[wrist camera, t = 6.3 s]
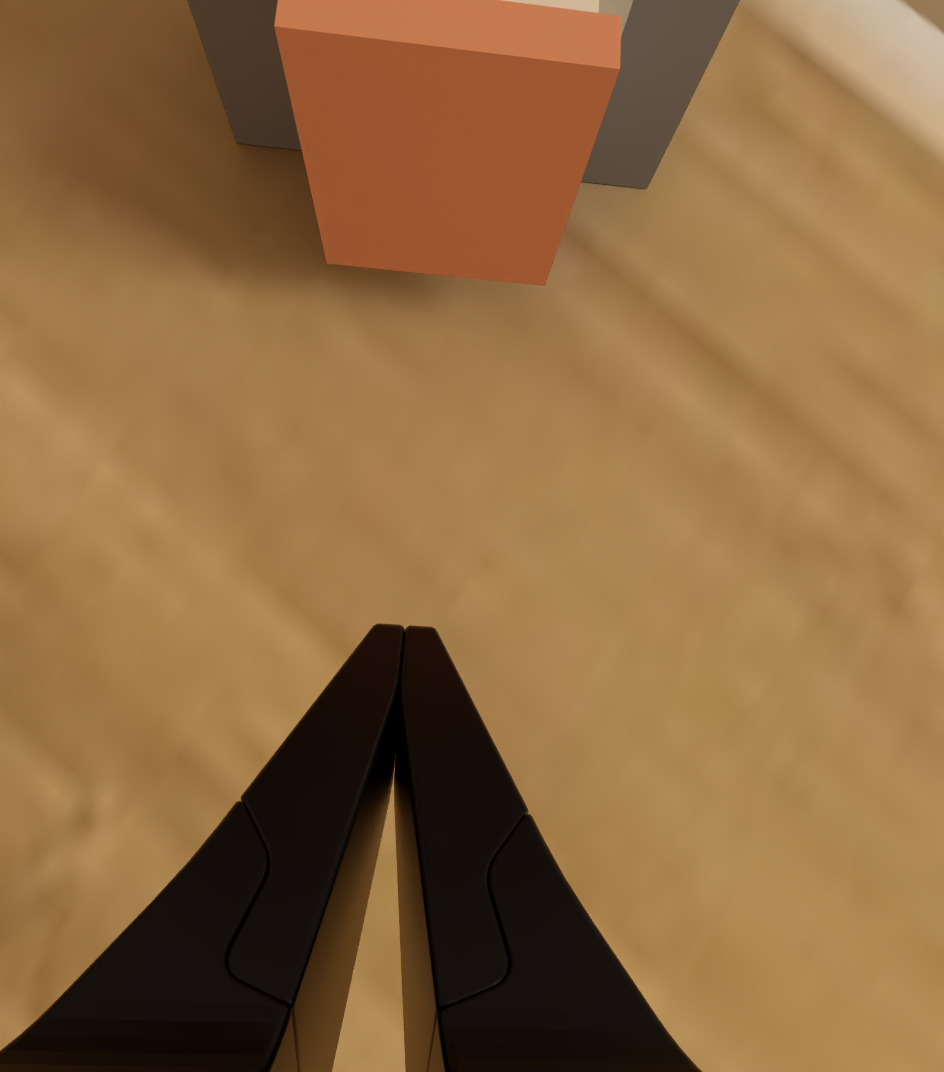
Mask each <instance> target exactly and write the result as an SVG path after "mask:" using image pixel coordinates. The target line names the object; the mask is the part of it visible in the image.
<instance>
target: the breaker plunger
mask: <svg viewBox="0 0 944 1072" xmlns="http://www.w3.org/2000/svg"><path fill="white" fill-rule="evenodd" d="M274 27H275V32H276V36H277V41H278V45H279V50H280V54H281V59H282V63H283V68H284V72H285V77H286V81H287V86H288V90H289V95H290V99H291V104H292V108H293V113H294V117H295V122H296V126H297V131H298V135H299V140H300V145H301V149H302V154H303V158H304V163H305V167H306V172H307V176H308V181H309V185H310V190H311V194H312V199H313V203H314V208H315V212H316V217H317V221H318V226H319V230H320V235H321V239H322V244H323V248H324V253H325V257H326V262H327V264H335V265H345V266H355V267H365V268H375V269H385V270H395V271H405V272H415V273H425V274H435V275H444V276H454V277H464V278H474V279H484V280H494V281H504V282H514V283H524V284H534V285H544V286H545V283H546V281H547V278H548V275H549V272H550V269H551V266H552V263H553V260H554V258H555V255H556V252H557V249H558V246H559V243H560V240H561V237H562V235H563V232H564V229H565V226H566V223H567V220H568V217H569V214H570V212H571V209H572V206H573V203H574V200H575V197H576V194H577V191H578V189H579V186H580V183H581V180H582V177H583V174H584V171H585V168H586V166H587V163H588V160H589V157H590V154H591V151H592V148H593V145H594V143H595V140H596V137H597V134H598V131H599V128H600V125H601V123H602V120H603V117H604V114H605V111H606V108H607V105H608V102H609V100H610V97H611V94H612V91H613V88H614V85H615V82H616V79H617V77H618V74H619V71H620V51H621V16H618V15H610V14H603V13H599V0H278V2H277V10H276V17H275V25H274Z"/></svg>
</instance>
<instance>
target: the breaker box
mask: <svg viewBox="0 0 944 1072" xmlns="http://www.w3.org/2000/svg"><path fill="white" fill-rule="evenodd" d="M187 1H188V4H189V6H190V9H191V12H192V15H193V18H194V21H195V24H196V27H197V30H198V33H199V35H200V38H201V41H202V44H203V47H204V50H205V53H206V56H207V59H208V62H209V64H210V67H211V70H212V73H213V76H214V79H215V82H216V85H217V88H218V91H219V93H220V96H221V99H222V102H223V105H224V108H225V111H226V114H227V117H228V120H229V122H230V125H231V128H232V131H233V134H234V137H235V140H236V143H241V144H250V145H259V146H268V147H277V148H286V149H295V150H302V149H301V145H300V140H299V135H298V131H297V126H296V122H295V117H294V113H293V108H292V104H291V99H290V95H289V90H288V86H287V81H286V77H285V72H284V68H283V63H282V59H281V54H280V50H279V45H278V41H277V36H276V32H275V27H274V25H275V17H276V10H277V2H278V0H187ZM739 1H740V0H599V13H603V14H610V15H618V16H621V51H620V71H619V74H618V77H617V79H616V82H615V85H614V88H613V91H612V94H611V97H610V100H609V102H608V105H607V108H606V111H605V114H604V117H603V120H602V123H601V125H600V128H599V131H598V134H597V137H596V140H595V143H594V145H593V148H592V151H591V154H590V157H589V160H588V163H587V166H586V168H585V171H584V174H583V177H582V180H581V182H590V183H599V184H608V185H617V186H626V187H635V188H644V189H647V188H648V186H649V184H650V182H651V180H652V178H653V175H654V173H655V171H656V169H657V167H658V165H659V163H660V161H661V159H662V157H663V155H664V153H665V151H666V149H667V147H668V145H669V143H670V141H671V139H672V137H673V135H674V133H675V131H676V129H677V127H678V125H679V123H680V121H681V119H682V117H683V115H684V113H685V111H686V109H687V107H688V105H689V103H690V100H691V98H692V96H693V94H694V92H695V90H696V88H697V86H698V84H699V82H700V80H701V78H702V76H703V74H704V72H705V70H706V68H707V66H708V64H709V62H710V60H711V58H712V56H713V54H714V52H715V50H716V48H717V46H718V44H719V42H720V40H721V38H722V36H723V34H724V32H725V30H726V28H727V26H728V23H729V21H730V19H731V17H732V15H733V13H734V11H735V9H736V7H737V5H738V3H739Z"/></svg>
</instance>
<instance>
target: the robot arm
mask: <svg viewBox="0 0 944 1072" xmlns="http://www.w3.org/2000/svg"><path fill="white" fill-rule="evenodd" d="M395 754H396V755H395ZM394 766H395V773H394ZM393 774H394V807H395V831H396V854H397V878H398V901H399V925H400V948H401V972H402V995H403V1018H404V1042H405V1065H406V1072H702V1071H701V1070H700V1069H699V1068H698V1067H697V1066H696V1065H695V1064H694V1063H693V1062H692V1061H691V1060H690V1058H689V1057H688V1056H687V1055H686V1054H685V1053H684V1052H683V1051H682V1049H681V1048H680V1047H679V1046H678V1044H677V1043H676V1042H675V1041H674V1039H673V1038H672V1037H671V1035H670V1034H669V1033H668V1031H667V1030H666V1029H665V1027H664V1026H663V1024H662V1023H661V1022H660V1020H659V1019H658V1017H657V1016H656V1014H655V1013H654V1011H653V1010H652V1008H651V1007H650V1005H649V1004H648V1003H647V1001H646V1000H645V998H644V997H643V995H642V994H641V992H640V991H639V989H638V988H637V986H636V985H635V983H634V982H633V980H632V979H631V977H630V976H629V974H628V973H627V971H626V970H625V968H624V967H623V965H622V964H621V962H620V961H619V959H618V958H617V956H616V955H615V954H614V952H613V951H612V949H611V948H610V946H609V945H608V943H607V942H606V940H605V939H604V937H603V936H602V934H601V933H600V931H599V930H598V928H597V927H596V925H595V924H594V922H593V921H592V919H591V918H590V916H589V915H588V913H587V912H586V910H585V908H584V907H583V905H582V904H581V902H580V901H579V899H578V897H577V896H576V894H575V893H574V891H573V890H572V888H571V886H570V885H569V883H568V882H567V880H566V879H565V877H564V875H563V873H562V872H561V870H560V868H559V866H558V864H557V863H556V861H555V859H554V857H553V855H552V854H551V852H550V850H549V848H548V846H547V845H546V843H545V841H544V839H543V837H542V835H541V833H540V831H539V829H538V827H537V825H536V823H535V821H534V819H533V817H532V816H531V815H530V814H528V808H527V806H526V804H525V802H524V800H523V798H522V797H521V795H520V793H519V791H518V789H517V787H516V785H515V783H514V781H513V779H512V777H511V775H510V773H509V771H508V769H507V767H506V765H505V763H504V761H503V759H502V757H501V755H500V753H499V752H498V750H497V748H496V746H495V744H494V742H493V740H492V738H491V736H490V734H489V732H488V730H487V728H486V726H485V724H484V722H483V720H482V718H481V716H480V714H479V712H478V710H477V708H476V707H475V705H474V703H473V701H472V699H471V697H470V695H469V693H468V691H467V689H466V687H465V685H464V683H463V681H462V679H461V677H460V675H459V673H458V671H457V669H456V667H455V665H454V663H453V662H452V660H451V658H450V656H449V654H448V652H447V650H446V648H445V646H444V644H443V642H442V640H441V638H440V636H439V634H438V632H437V631H436V629H435V628H433V627H425V626H408V627H407V628H406V629H404V627H403V626H402V625H394V624H376V625H374V626H373V627H372V628H371V630H370V631H369V632H368V634H367V635H366V636H365V637H364V639H363V640H362V641H361V643H360V644H359V645H358V646H357V648H356V649H355V650H354V652H353V653H352V654H351V655H350V657H349V658H348V659H347V661H346V662H345V663H344V664H343V666H342V667H341V668H340V670H339V671H338V672H337V674H336V675H335V676H334V677H333V679H332V680H331V681H330V683H329V684H328V685H327V686H326V688H325V689H324V690H323V692H322V693H321V694H320V695H319V697H318V698H317V699H316V701H315V702H314V703H313V704H312V706H311V707H310V708H309V710H308V711H307V712H306V713H305V715H304V716H303V717H302V719H301V720H300V721H299V723H298V724H297V725H296V726H295V728H294V729H293V730H292V732H291V733H290V734H289V735H288V737H287V738H286V739H285V741H284V742H283V743H282V744H281V746H280V747H279V748H278V750H277V751H276V752H275V753H274V755H273V756H272V757H271V759H270V760H269V761H268V762H267V764H266V765H265V766H264V768H263V769H262V770H261V772H260V773H259V774H258V775H257V777H256V778H255V779H254V781H253V782H252V783H251V784H250V786H249V787H248V788H247V790H246V791H245V792H244V793H243V795H242V796H241V801H238V802H236V803H235V805H234V806H233V807H232V808H231V810H230V811H229V812H228V814H227V815H226V816H225V818H224V819H223V820H222V821H221V823H220V824H219V825H218V827H217V828H216V829H215V830H214V831H213V833H212V834H211V835H210V836H209V837H208V839H207V840H206V841H205V842H204V844H203V845H202V846H201V847H200V848H199V850H198V851H197V852H196V853H195V854H194V856H193V857H192V858H191V859H190V860H189V862H188V863H187V864H186V865H185V866H184V867H183V868H182V869H181V870H180V872H179V873H178V874H177V875H176V876H175V877H174V878H173V879H172V880H171V881H170V882H169V883H168V885H167V886H166V887H165V888H164V889H163V890H162V891H161V892H160V893H159V894H158V895H157V897H156V898H155V899H154V900H153V901H152V902H151V903H150V904H149V905H148V906H147V907H146V908H145V909H144V910H143V911H142V912H141V913H140V914H139V915H138V916H137V917H136V919H135V920H134V921H133V922H132V923H131V924H130V925H129V926H128V927H127V928H126V929H125V930H124V931H123V932H122V933H121V934H120V935H119V936H118V937H117V938H116V939H115V940H114V941H113V942H112V943H111V944H110V945H109V947H108V948H107V949H106V950H105V951H104V952H103V953H102V954H101V955H100V956H99V957H98V958H97V959H96V960H95V961H94V962H93V963H92V964H91V965H90V966H89V967H88V968H87V969H86V970H85V971H84V972H83V973H82V975H81V976H80V977H79V978H78V979H77V980H76V981H75V982H74V983H73V984H72V985H71V986H70V987H69V988H68V989H67V990H66V991H65V992H64V993H63V994H62V995H61V996H60V997H59V998H58V999H57V1000H56V1001H55V1002H54V1003H53V1004H52V1005H51V1006H50V1007H49V1008H48V1009H47V1010H46V1011H45V1012H44V1013H43V1014H42V1015H41V1016H40V1017H39V1018H38V1019H37V1020H36V1021H35V1022H34V1023H33V1024H32V1025H31V1026H29V1027H28V1028H27V1029H26V1030H25V1031H24V1032H23V1033H22V1034H21V1035H19V1036H18V1037H17V1038H16V1039H14V1040H13V1041H12V1042H11V1043H9V1044H8V1045H7V1046H6V1047H4V1048H3V1049H2V1050H1V1051H0V1072H332V1069H333V1064H334V1059H335V1054H336V1050H337V1045H338V1040H339V1036H340V1031H341V1026H342V1021H343V1017H344V1012H345V1007H346V1002H347V998H348V993H349V988H350V984H351V979H352V974H353V969H354V965H355V960H356V955H357V951H358V946H359V941H360V936H361V932H362V927H363V922H364V918H365V913H366V908H367V903H368V899H369V894H370V889H371V884H372V880H373V875H374V870H375V866H376V861H377V856H378V851H379V847H380V842H381V837H382V833H383V828H384V823H385V818H386V814H387V809H388V804H389V799H390V794H391V788H392V783H393Z"/></svg>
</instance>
